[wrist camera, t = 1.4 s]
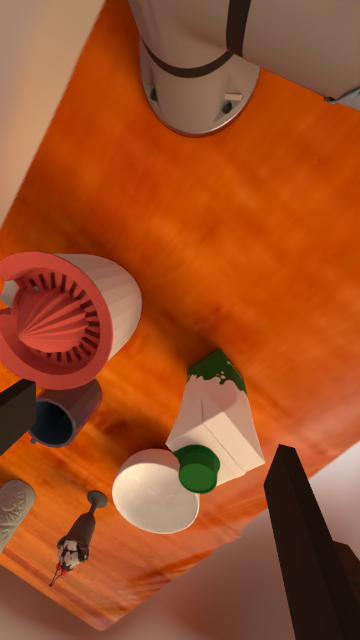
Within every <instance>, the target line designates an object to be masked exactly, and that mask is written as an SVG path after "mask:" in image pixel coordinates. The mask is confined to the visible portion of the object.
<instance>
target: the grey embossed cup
mask: <svg viewBox="0 0 360 640" xmlns="http://www.w3.org/2000/svg"><path fill="white" fill-rule="evenodd" d="M35 499H36V495H35V492H34V490H33V489H32V488H31V487H30V486H29V485H28V484H27V483H25V482H23V481H21V480H16V479H13V480H10V481H8V482H7V483H6V484H5V485H4V486H3V487H2V488H1V489H0V553H1V552H2V550H3V548H4V547H5V545H6V544H7V543H8V541H9V540H10V538H11V537H12V535H13V534H14V532H15V531H16V529H17V528H18V525H19V524H20V523H21V522H22V520H23V519H24V517H25V516H26V514H27V513H28V511H29V509H30V508H31V507H32V505H33V504H34V502H35Z"/></svg>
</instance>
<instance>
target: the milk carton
mask: <svg viewBox="0 0 360 640" xmlns="http://www.w3.org/2000/svg"><path fill="white" fill-rule="evenodd" d="M166 445H167V446H168V448H169V449H170V450H171V451H172V454H173V455H174V456H175V457H176V458H177V459H178V462H179V464H180V467H179V473H178V474H179V475H178V477H179V481H180V483H181V485H182V486H183V487H184V488H185V489H187V490H188V491H190V492H193V493H197V494H205V493H208V492H210V491H212V490H213V489H214V488H215V487H216V486H218V485H220V484H222V483H225V482H227V481H229V480H231V479H234V478H237V477H240V476H242V475H244V474H245V472H247V471H249V470H251V469H253V468H255V467H258V466H260V465H262V464H264V463H265V461H264V458H263V454H262V451H261V448H260V444H259V441H258V437H257V434H256V430H255V427H254V423H253V419H252V415H251V410H250V406H249V401H248V397H247V392H246V388H245V383H244V380H243V377H242V376H241V374H240V373H239V372H238V371H237V369H236V368H235V367H234V366H233V364H232V363H231V362H230V360H229V359H228V358H227V357H226V355H225V354H224V353H223V352H222V350H221V349H220V348H219V349H217V350H216V351H214V352H213V353H211V354H210V355H208V356H207V357H205V358H204V359H202V360H200V361H199V362H197V363H196V364H194V365H193V366H191V367H190V368H188V373H187V381H186V386H185V390H184V394H183V399H182V403H181V407H180V411H179V414H178V416H177V419H176V421H175V423H174V426H173V428H172V430H171V432H170V435H169V437H168V439H167V441H166Z"/></svg>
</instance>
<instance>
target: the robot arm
mask: <svg viewBox="0 0 360 640" xmlns="http://www.w3.org/2000/svg"><path fill="white" fill-rule="evenodd" d="M128 3H129V6H130V9H131V11H132V14H133V17H134V20H135V22H136V25H137V28H138V30H139V33H140V71H141V77H142V83H143V87H144V90H145V94H146V96H147V99H148V101H149V103H150V106H151V108H152V110H153V111H154V113H155V115H156V116H157V117H158V119H159V120H160V121H161V122H162V123H163V124H164V125H165V126H166V127H167V128H168V129H170V130H171V131H173V132H175V133H177V134H179V135H182V136H186V137H192V138H199V137H206V136H210V135H213V134H215V133H218V132H220V131H221V130H223V129H225V128H226V127H227V126H229V125H230V124H231V123H232V122H234V121H235V120H236V119H237V118H238V117H239V115H240V114H241V113H242V112H243V110H244V109H245V107H246V106H247V104H248V103H249V101H250V99H251V97H252V95H253V93H254V90H255V87H256V84H257V81H258V77H259V73H260V69H261V67H262V68H264V69H266V70H268V71H270V72H272V73H275V74H277V75H279V76H281V77H283V78H285V79H287V80H290V81H292V82H294V83H296V84H298V85H300V86H302V87H305V88H307V89H309V90H311V91H313V92H315V93H317V94H320V95H322V96H324V100H325V101H326V102H328V103H330V104H342V105H345V106H347V107H350V108H352V109H355V110H357V111H360V0H128ZM35 423H36V382H35V381H31V380H27V379H21V380H20V381H18V382H17V383H15V384H14V385H12V386H11V387H9V388H7V389H6V390H4V391H3V392H1V393H0V456H1V455H2V454H3V453H4V452H5V451H6V450H7V449H8V448H10V447H11V446H12V445H13V444H14V443H15V442H16V441H17V440H18V439H19V438H20V437H21V436H22V435H23V434H24V433H26V432H27V431H28V430H29V429H30V428H31V427H32V426H33V425H34V424H35ZM264 490H265V495H266V500H267V504H268V509H269V513H270V519H271V524H272V528H273V533H274V538H275V542H276V547H277V552H278V557H279V562H280V567H281V571H282V576H283V581H284V586H285V591H286V595H287V600H288V605H289V609H290V615H291V619H292V624H293V629H294V634H295V638H296V640H360V561H359V559H358V558H357V557H356V555H355V554H354V553H353V551H352V550H351V548H350V547H349V546H348V545H346V544H343V543H339V542H335V541H333V540H332V537H331V535H330V533H329V530H328V528H327V525H326V523H325V520H324V518H323V515H322V513H321V511H320V508H319V506H318V503H317V501H316V498H315V496H314V494H313V491H312V489H311V487H310V484H309V481H308V479H307V476H306V474H305V472H304V469H303V467H302V464H301V462H300V459H299V457H298V455H297V452H296V450H295V448H292V447H289V446H285V445H281V444H279V446H278V448H277V451H276V454H275V456H274V459H273V461H272V464H271V467H270V469H269V472H268V475H267V477H266V480H265V482H264Z"/></svg>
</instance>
